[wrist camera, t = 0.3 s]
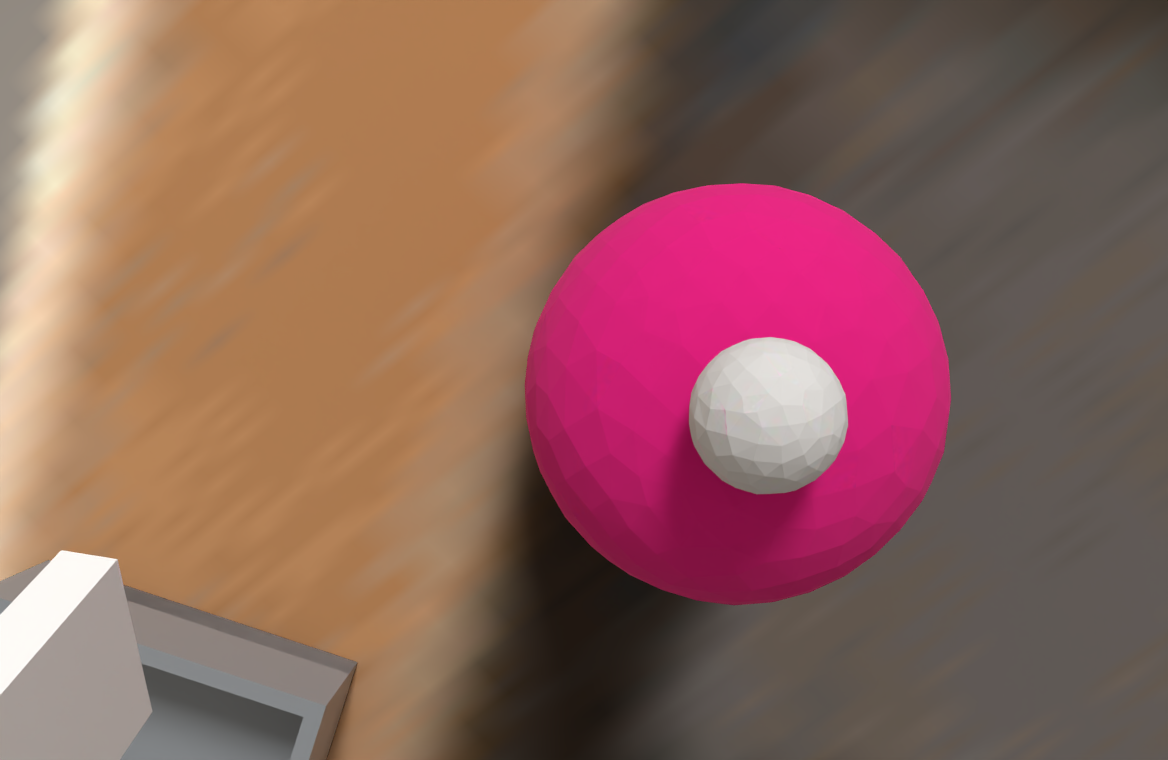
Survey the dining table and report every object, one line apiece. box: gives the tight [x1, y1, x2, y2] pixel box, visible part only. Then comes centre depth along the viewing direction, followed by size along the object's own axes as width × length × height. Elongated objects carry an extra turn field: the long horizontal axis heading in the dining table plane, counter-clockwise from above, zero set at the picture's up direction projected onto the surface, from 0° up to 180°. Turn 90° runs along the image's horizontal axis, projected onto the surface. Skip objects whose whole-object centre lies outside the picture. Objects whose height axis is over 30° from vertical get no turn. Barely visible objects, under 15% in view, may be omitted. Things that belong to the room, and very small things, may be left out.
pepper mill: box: [525, 183, 951, 605], centre depth 21 cm, size 7×7×20 cm
